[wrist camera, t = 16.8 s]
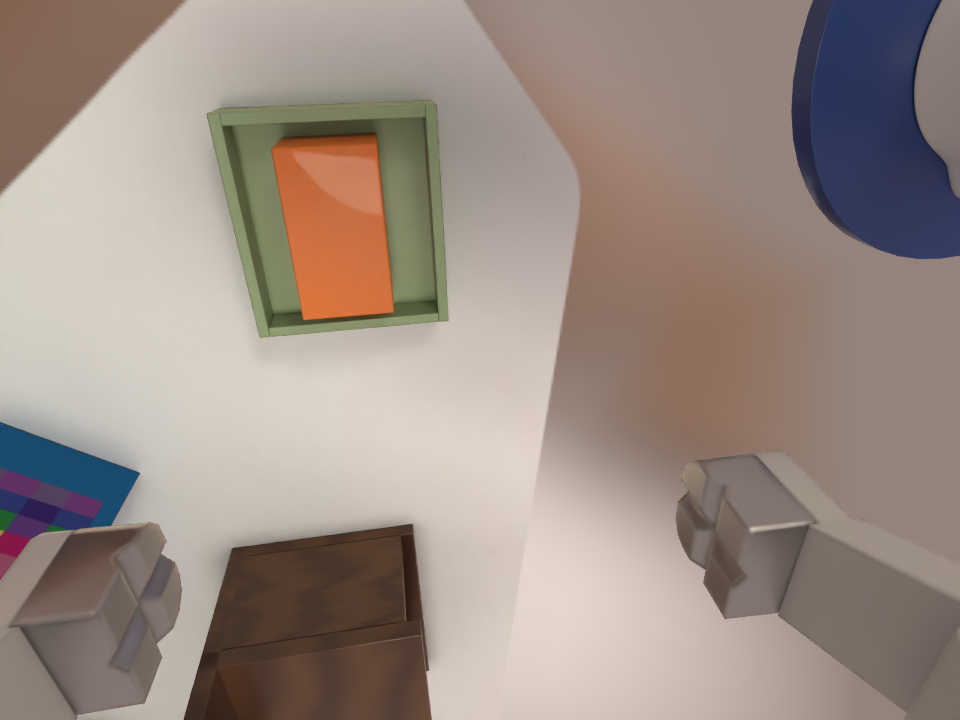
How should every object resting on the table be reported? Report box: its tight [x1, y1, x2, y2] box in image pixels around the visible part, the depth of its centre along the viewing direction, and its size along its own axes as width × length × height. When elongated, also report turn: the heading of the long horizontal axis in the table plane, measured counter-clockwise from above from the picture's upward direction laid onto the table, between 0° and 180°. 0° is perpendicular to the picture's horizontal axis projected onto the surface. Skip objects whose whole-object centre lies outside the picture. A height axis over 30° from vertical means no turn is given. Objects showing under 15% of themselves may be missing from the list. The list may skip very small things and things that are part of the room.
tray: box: [207, 100, 449, 338], centre depth 32 cm, size 11×12×3 cm
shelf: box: [184, 525, 432, 720], centre depth 43 cm, size 14×18×14 cm
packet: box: [271, 133, 394, 320], centre depth 31 cm, size 5×9×4 cm, turn 1°
